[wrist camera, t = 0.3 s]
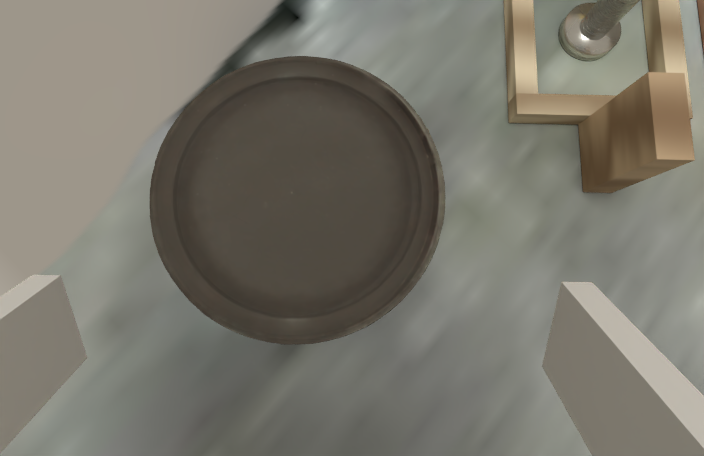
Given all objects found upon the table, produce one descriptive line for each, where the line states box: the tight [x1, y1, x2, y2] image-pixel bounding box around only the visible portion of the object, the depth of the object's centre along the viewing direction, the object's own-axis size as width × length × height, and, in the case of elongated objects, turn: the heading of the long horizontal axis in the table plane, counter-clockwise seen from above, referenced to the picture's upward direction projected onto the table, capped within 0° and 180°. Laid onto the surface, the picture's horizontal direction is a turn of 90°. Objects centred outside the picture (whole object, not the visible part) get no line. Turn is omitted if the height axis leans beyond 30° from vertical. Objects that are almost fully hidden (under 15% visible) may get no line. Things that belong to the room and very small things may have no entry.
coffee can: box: [150, 56, 445, 344], centre depth 21 cm, size 10×10×14 cm
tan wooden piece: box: [504, 0, 695, 193], centre depth 27 cm, size 17×12×7 cm
